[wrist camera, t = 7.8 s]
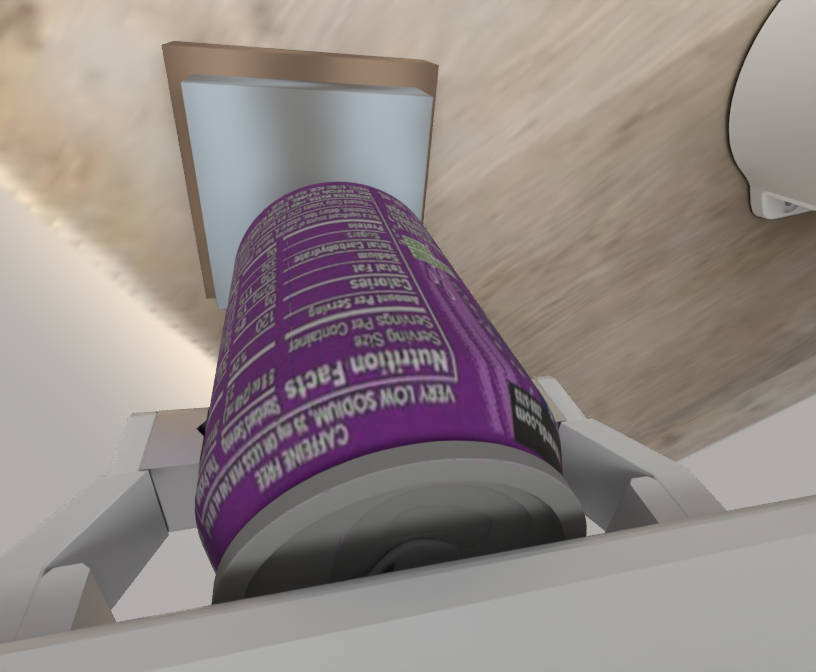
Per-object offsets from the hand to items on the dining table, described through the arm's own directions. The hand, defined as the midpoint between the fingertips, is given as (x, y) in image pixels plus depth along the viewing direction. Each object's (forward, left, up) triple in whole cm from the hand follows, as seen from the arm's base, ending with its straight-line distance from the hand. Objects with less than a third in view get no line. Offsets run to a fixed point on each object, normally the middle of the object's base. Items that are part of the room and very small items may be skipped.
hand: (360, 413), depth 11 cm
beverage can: (0, 0, -8) cm, 8 cm away
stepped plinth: (0, 0, -20) cm, 20 cm away
